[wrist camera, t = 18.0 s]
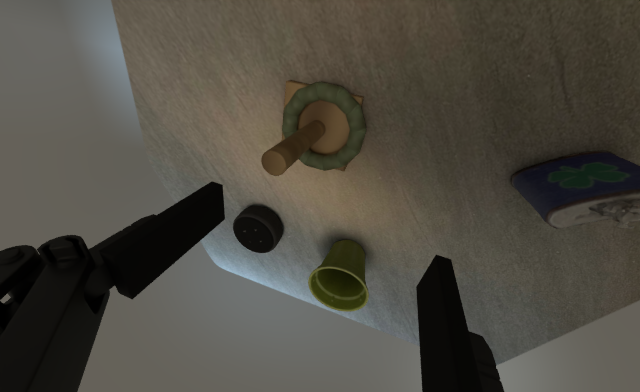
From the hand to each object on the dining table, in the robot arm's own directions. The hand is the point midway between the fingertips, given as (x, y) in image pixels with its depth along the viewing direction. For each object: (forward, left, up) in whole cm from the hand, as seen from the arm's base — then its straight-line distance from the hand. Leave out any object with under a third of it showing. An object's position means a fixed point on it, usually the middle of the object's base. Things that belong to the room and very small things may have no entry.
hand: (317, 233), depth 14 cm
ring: (+5, 0, -19) cm, 20 cm away
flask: (-23, -2, -22) cm, 31 cm away
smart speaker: (+14, +21, -22) cm, 33 cm away
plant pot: (-3, +21, -22) cm, 30 cm away
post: (+6, 0, -21) cm, 22 cm away
